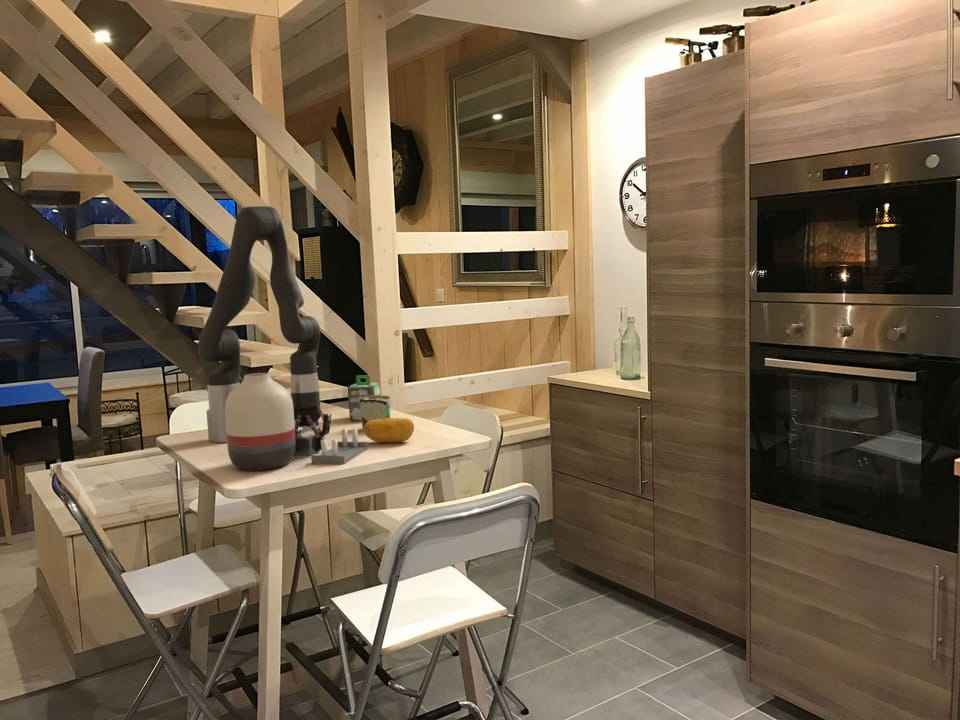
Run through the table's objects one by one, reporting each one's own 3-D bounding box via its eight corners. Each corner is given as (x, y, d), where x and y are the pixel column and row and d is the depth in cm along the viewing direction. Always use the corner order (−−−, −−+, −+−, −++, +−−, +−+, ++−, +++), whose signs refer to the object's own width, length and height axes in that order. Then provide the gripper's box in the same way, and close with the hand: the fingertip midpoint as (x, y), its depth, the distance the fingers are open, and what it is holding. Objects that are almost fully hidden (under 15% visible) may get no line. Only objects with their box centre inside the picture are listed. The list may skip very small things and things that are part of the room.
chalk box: (382, 415, 266) (379, 372, 264) (376, 420, 256) (373, 376, 255) (355, 416, 266) (353, 373, 265) (348, 421, 257) (346, 377, 256)
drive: (292, 456, 209) (291, 438, 209) (307, 448, 219) (306, 430, 218) (310, 456, 208) (309, 438, 208) (325, 448, 218) (323, 430, 217)
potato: (369, 439, 227) (367, 416, 226) (417, 439, 224) (416, 415, 224) (361, 445, 219) (360, 420, 219) (411, 445, 217) (410, 420, 217)
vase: (278, 454, 212) (272, 368, 209) (308, 464, 199) (303, 373, 197) (218, 466, 201) (211, 375, 198) (246, 477, 188) (239, 381, 186)
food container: (402, 427, 243) (400, 396, 242) (389, 431, 238) (387, 399, 236) (371, 424, 249) (370, 394, 248) (359, 428, 244) (357, 397, 243)
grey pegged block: (311, 463, 200) (310, 441, 199) (337, 448, 216) (336, 428, 216) (344, 463, 198) (342, 441, 197) (367, 448, 214) (366, 428, 214)
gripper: (274, 392, 209) (278, 453, 211) (323, 391, 206) (327, 454, 208) (287, 387, 217) (291, 447, 219) (335, 387, 214) (338, 447, 215)
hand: (309, 450), depth 213 cm, fingers closed on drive, 5 cm apart
